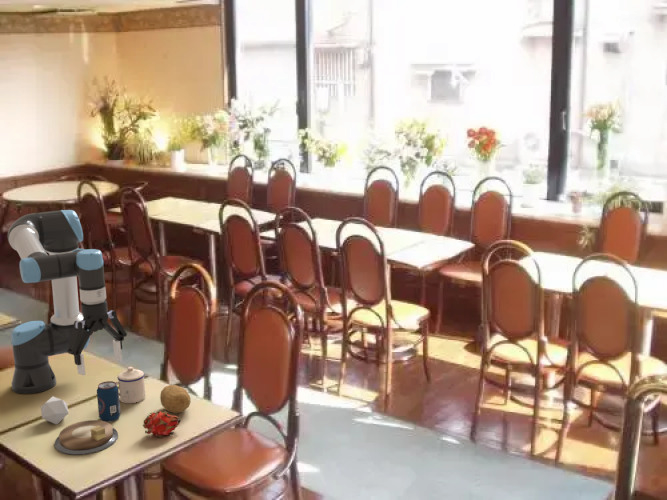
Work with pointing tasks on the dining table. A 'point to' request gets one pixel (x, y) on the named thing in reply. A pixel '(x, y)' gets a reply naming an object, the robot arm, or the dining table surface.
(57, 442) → the turntable base
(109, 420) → the soda can
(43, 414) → the die
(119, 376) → the teacup with lid
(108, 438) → the turntable
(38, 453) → the dining table surface
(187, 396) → the potato
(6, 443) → the dining table surface
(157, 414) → the dragon fruit
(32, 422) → the dining table surface
